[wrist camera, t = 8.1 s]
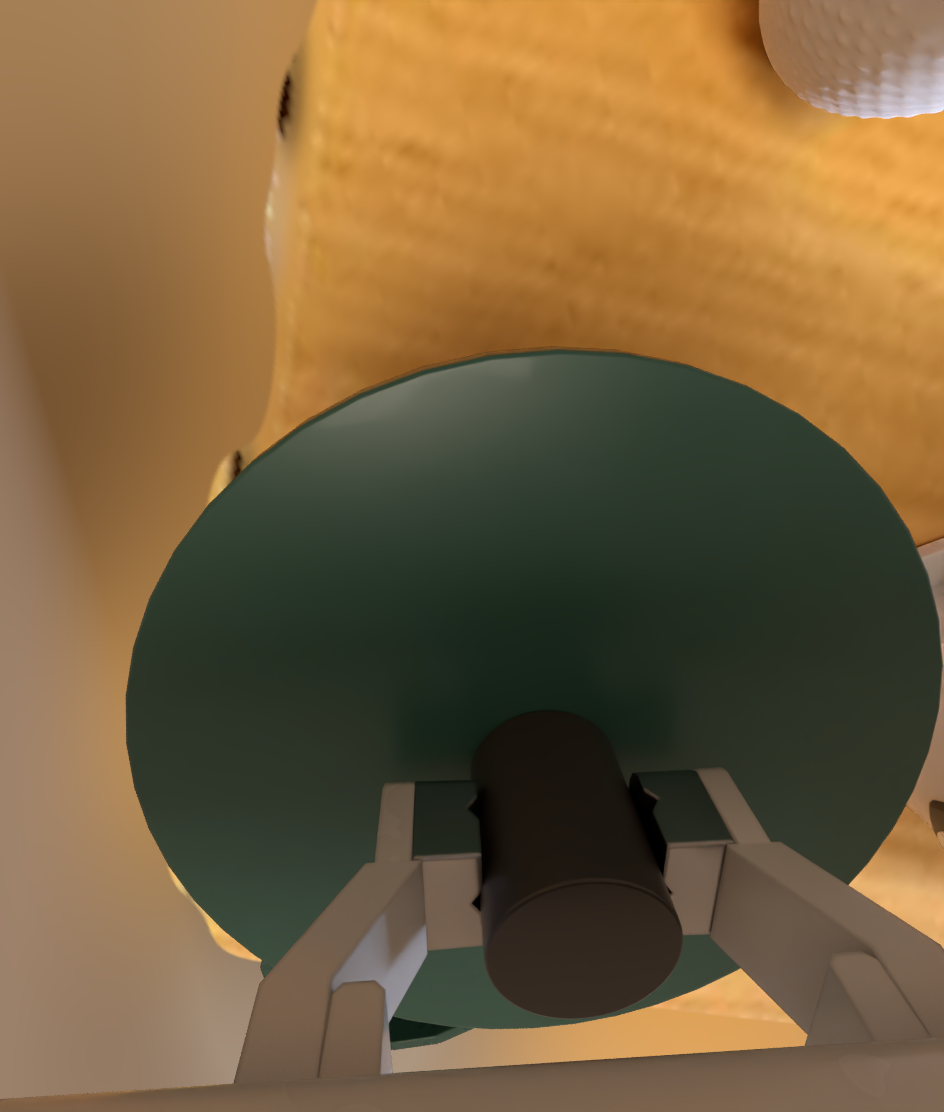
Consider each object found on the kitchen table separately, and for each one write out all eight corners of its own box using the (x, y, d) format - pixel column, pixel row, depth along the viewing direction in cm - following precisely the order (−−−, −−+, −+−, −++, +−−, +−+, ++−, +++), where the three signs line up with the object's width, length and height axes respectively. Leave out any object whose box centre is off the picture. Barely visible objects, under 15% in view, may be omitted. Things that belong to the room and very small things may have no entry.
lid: (454, 121, 9) (473, -46, 4) (1048, 649, 13) (1371, 837, 8) (22, 805, 13) (-191, 1071, 8) (575, 1050, 17) (625, 1319, 12)
